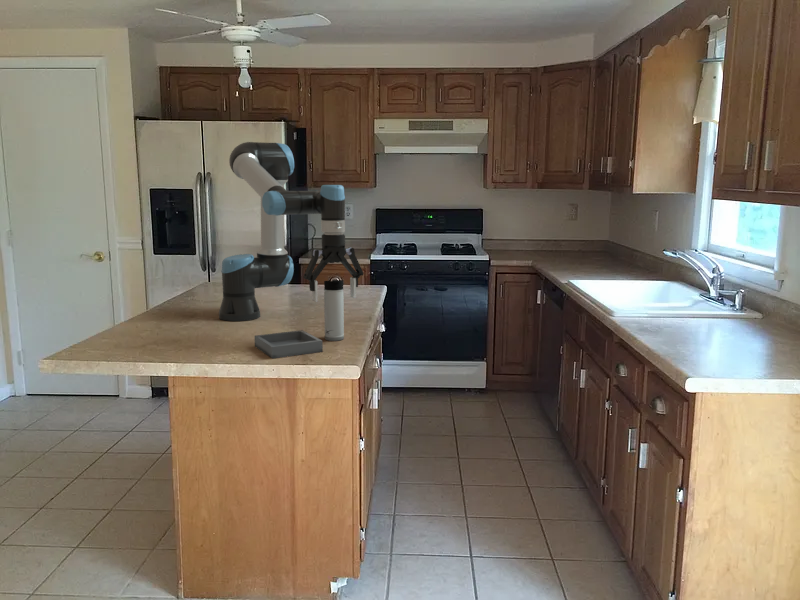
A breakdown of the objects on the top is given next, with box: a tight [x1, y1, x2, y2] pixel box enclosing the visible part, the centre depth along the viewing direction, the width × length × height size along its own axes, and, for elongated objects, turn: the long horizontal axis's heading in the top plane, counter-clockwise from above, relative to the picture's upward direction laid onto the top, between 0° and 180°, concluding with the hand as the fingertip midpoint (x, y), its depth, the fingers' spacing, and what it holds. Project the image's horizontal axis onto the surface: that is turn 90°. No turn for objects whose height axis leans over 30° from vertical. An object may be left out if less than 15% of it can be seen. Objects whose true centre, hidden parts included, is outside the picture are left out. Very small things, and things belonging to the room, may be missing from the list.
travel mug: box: [323, 279, 345, 342], centre depth 214 cm, size 6×7×20 cm
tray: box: [254, 329, 324, 360], centre depth 202 cm, size 16×16×4 cm
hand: (334, 299), depth 213 cm, fingers open, 13 cm apart
